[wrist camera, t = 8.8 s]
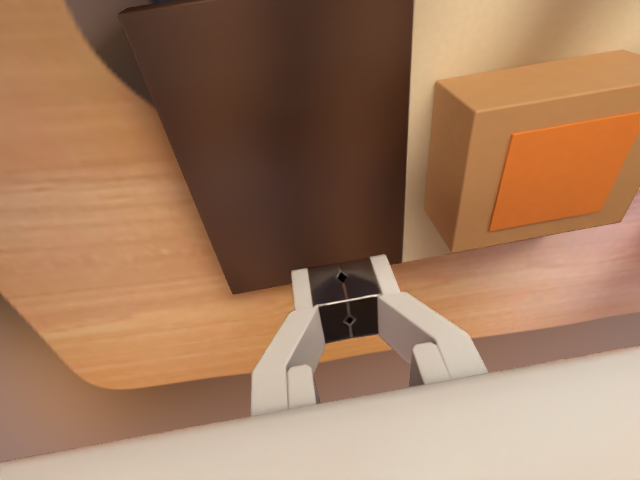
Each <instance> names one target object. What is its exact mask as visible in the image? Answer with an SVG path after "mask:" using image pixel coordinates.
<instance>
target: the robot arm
mask: <svg viewBox="0 0 640 480" xmlns="http://www.w3.org/2000/svg"><path fill="white" fill-rule="evenodd" d="M291 278H292V289H293V300H294V311H291V312H289V314H288V316H287V317H286V319H285V320H284V322H283V324H282V325H281V327H280V328H279V330H278V332H277V333H276V335H275V336H274V338H273V340H272V341H271V343H270V344H269V346H268V347H267V349H266V351H265V352H264V354H263V355H262V357H261V359H260V360H259V362H258V363H257V365H256V367H255V368H254V370H253V371H252V387H251V416H249V417H244V418H238V419H232V420H227V421H221V422H216V423H211V424H205V425H199V426H194V427H188V428H183V429H178V430H172V431H167V432H162V433H156V434H150V435H145V436H139V437H134V438H128V439H123V440H117V441H112V442H106V443H101V444H95V445H90V446H84V447H79V448H73V449H68V450H62V451H57V452H51V453H46V454H40V455H35V456H29V457H24V458H18V459H13V460H7V461H2V462H0V480H640V345H637V346H632V347H626V348H621V349H616V350H610V351H605V352H599V353H594V354H588V355H583V356H578V357H572V358H566V359H561V360H555V361H550V362H545V363H539V364H533V365H528V366H522V367H517V368H511V369H506V370H501V371H495V372H490V373H489V372H488V370H487V368H486V367H485V365H484V363H483V361H482V359H481V357H480V355H479V353H478V351H477V349H476V347H475V346H474V343H473V342H472V340H471V338H470V336H469V334H468V333H466V332H465V331H463V330H462V329H460V328H459V327H458V326H456V325H455V324H453V323H452V322H450V321H449V320H447V319H446V318H444V317H443V316H441V315H440V314H438V313H437V312H435V311H434V310H432V309H431V308H429V307H428V306H426V305H425V304H424V303H422V302H421V301H419V300H418V299H416V298H415V297H413V296H412V295H410V294H409V293H407V292H406V291H403V292H400V289H399V287H398V284H397V281H396V279H395V276H394V274H393V271H392V269H391V266H390V264H389V261H388V259H387V256H386V255H385V254H382V255H377V256H371V257H369V258H368V257H366V258H361V259H356V260H350V261H345V262H339V263H335V264H328V265H321V266H315V267H308V269H307V268H304V269H297V270H292V272H291ZM376 334H379V336H380V337H381V338H382V339H383V340H384V341H385V342H386V343H387V344H388V345H389V346H390V347H391V348H392V349H393V350H394V351H395V352H396V353H397V354H398V355H399V356H401V358H402V359H404V360H405V361H406V362H407V363H408V364H409V365H410V366H411V370H410V383H409V387H407V388H402V389H397V390H391V391H386V392H380V393H375V394H369V395H364V396H359V397H353V398H348V399H342V400H336V401H331V402H326V403H320V399H319V395H318V391H317V387H316V384H315V380H314V376H313V374H314V372H315V369H316V367H317V365H318V362H319V360H320V358H321V355H322V353H323V350H324V348H325V346H326V345H325V344H326V343H331V342H336V341H341V340H346V339H350V338H357V337H363V336H370V335H376Z"/></svg>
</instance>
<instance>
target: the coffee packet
mask: <svg viewBox="0 0 640 480" xmlns="http://www.w3.org/2000/svg"><path fill="white" fill-rule="evenodd" d="M639 187H640V55H639V54H636V53H632V52H629V51H626V50H623V49H622V50H616V51H610V52H604V53H598V54H592V55H586V56H580V57H574V58H568V59H562V60H556V61H550V62H544V63H538V64H532V65H526V66H520V67H514V68H508V69H502V70H496V71H490V72H484V73H477V74H471V75H465V76H459V77H453V78H447V79H441V80H437V81H436V82H435V93H434V104H433V115H432V126H431V137H430V148H429V158H428V169H427V180H426V191H425V202H424V210H425V212H426V214H427V215H428V217H429V218H430V220H431V221H432V223H433V225H434V226H435V228H436V229H437V231H438V233H439V234H440V236H441V237H442V239H443V240H444V242H445V244H446V245H447V247H448V248H449V250H450V251H451V253H456V252H462V251H467V250H473V249H478V248H483V247H489V246H494V245H500V244H505V243H510V242H516V241H521V240H527V239H532V238H537V237H543V236H548V235H553V234H559V233H564V232H570V231H575V230H580V229H586V228H591V227H597V226H602V225H607V224H613V223H618V222H621V221H622V219H623V217H624V215H625V213H626V212H627V210H628V208H629V206H630V204H631V202H632V200H633V199H634V197H635V195H636V193H637V191H638V189H639Z"/></svg>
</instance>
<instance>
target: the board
mask: <svg viewBox="0 0 640 480" xmlns="http://www.w3.org/2000/svg"><path fill="white" fill-rule="evenodd" d="M118 17H119V20H120V22H121V25H122V27H123V30H124V32H125V34H126V37H127V39H128V42H129V44H130V46H131V49H132V52H133V54H134V56H135V59H136V61H137V63H138V66H139V68H140V71H141V73H142V76H143V78H144V80H145V83H146V85H147V88H148V90H149V93H150V95H151V98H152V100H153V103H154V105H155V107H156V110H157V112H158V115H159V117H160V120H161V122H162V124H163V127H164V129H165V132H166V134H167V137H168V139H169V141H170V144H171V146H172V149H173V151H174V154H175V156H176V158H177V161H178V163H179V166H180V168H181V171H182V173H183V175H184V178H185V180H186V183H187V185H188V188H189V190H190V193H191V195H192V197H193V200H194V202H195V205H196V207H197V210H198V212H199V214H200V217H201V219H202V222H203V224H204V227H205V229H206V231H207V234H208V236H209V239H210V241H211V244H212V246H213V248H214V251H215V253H216V256H217V258H218V261H219V263H220V265H221V268H222V270H223V273H224V275H225V278H226V280H227V282H228V285H229V287H230V290H231V292H232V294H239V293H244V292H250V291H255V290H260V289H266V288H271V287H276V286H281V285H287V284H292V278H291V272H292V270H297V269H304V268H307V269H308V267H315V266H321V265H328V264H335V263H339V262H345V261H350V260H356V259H361V258H366V257H368V258H369V257H371V256H377V255H382V254H385V255H386V256H387V259H388V261H389V264H390V265H393V264H398V263H402V262H403V263H404V262H409V261H415V260H420V259H425V258H431V257H436V256H441V255H446V254H452V253H451V251H450V250H449V248H448V247H447V245H446V244H445V242H444V240H443V239H442V237H441V236H440V234H439V233H438V231H437V229H436V228H435V226H434V225H433V223H432V221H431V220H430V218H429V217H428V215H427V214H426V212H425V210H424V202H425V191H426V180H427V169H428V158H429V148H430V137H431V126H432V115H433V104H434V93H435V82H436V81H437V80H441V79H447V78H453V77H459V76H465V75H471V74H477V73H484V72H490V71H496V70H502V69H508V68H514V67H520V66H526V65H532V64H538V63H544V62H550V61H556V60H562V59H568V58H574V57H580V56H586V55H592V54H598V53H604V52H610V51H616V50H622V49H623V50H626V51H629V52H632V53H636V54H639V55H640V0H175V1H168V2H162V3H156V4H149V5H143V6H137V7H130V8H127V9H125V10H123V11H122V12H120V13H119V14H118ZM483 248H484V247H483ZM467 251H468V250H467ZM456 253H457V252H456Z"/></svg>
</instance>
